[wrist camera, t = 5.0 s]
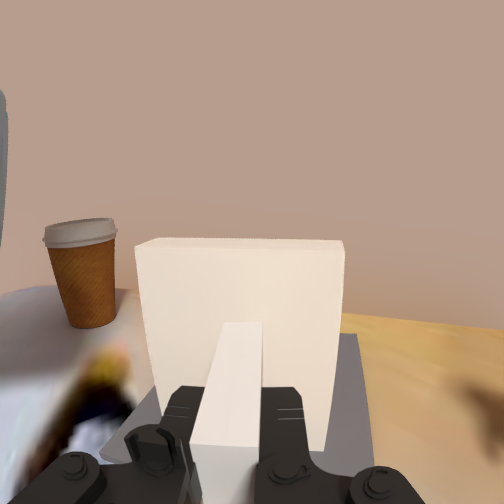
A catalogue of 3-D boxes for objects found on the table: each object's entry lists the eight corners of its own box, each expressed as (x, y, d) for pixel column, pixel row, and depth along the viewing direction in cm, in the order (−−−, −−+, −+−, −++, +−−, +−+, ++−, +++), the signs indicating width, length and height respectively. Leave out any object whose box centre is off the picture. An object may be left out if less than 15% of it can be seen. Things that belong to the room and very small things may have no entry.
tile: (165, 429, 18) (134, 246, 16) (180, 405, 21) (159, 236, 18) (323, 451, 16) (344, 251, 13) (325, 422, 19) (341, 239, 16)
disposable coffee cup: (143, 312, 39) (132, 217, 36) (88, 342, 30) (69, 230, 28) (95, 300, 43) (85, 217, 40) (44, 323, 34) (28, 229, 31)
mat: (101, 458, 15) (98, 452, 15) (204, 329, 34) (204, 325, 34) (374, 504, 12) (376, 498, 12) (355, 338, 31) (356, 333, 31)
